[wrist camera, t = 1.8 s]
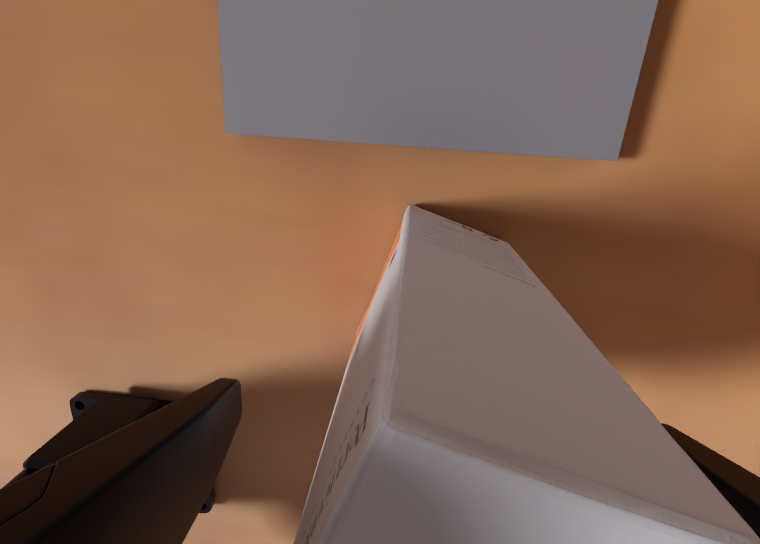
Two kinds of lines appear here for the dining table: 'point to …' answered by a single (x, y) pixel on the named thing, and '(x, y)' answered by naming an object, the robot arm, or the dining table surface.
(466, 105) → the slate tile
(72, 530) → the robot arm
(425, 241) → the skincare box
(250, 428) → the dining table surface
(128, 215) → the dining table surface
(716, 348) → the dining table surface
